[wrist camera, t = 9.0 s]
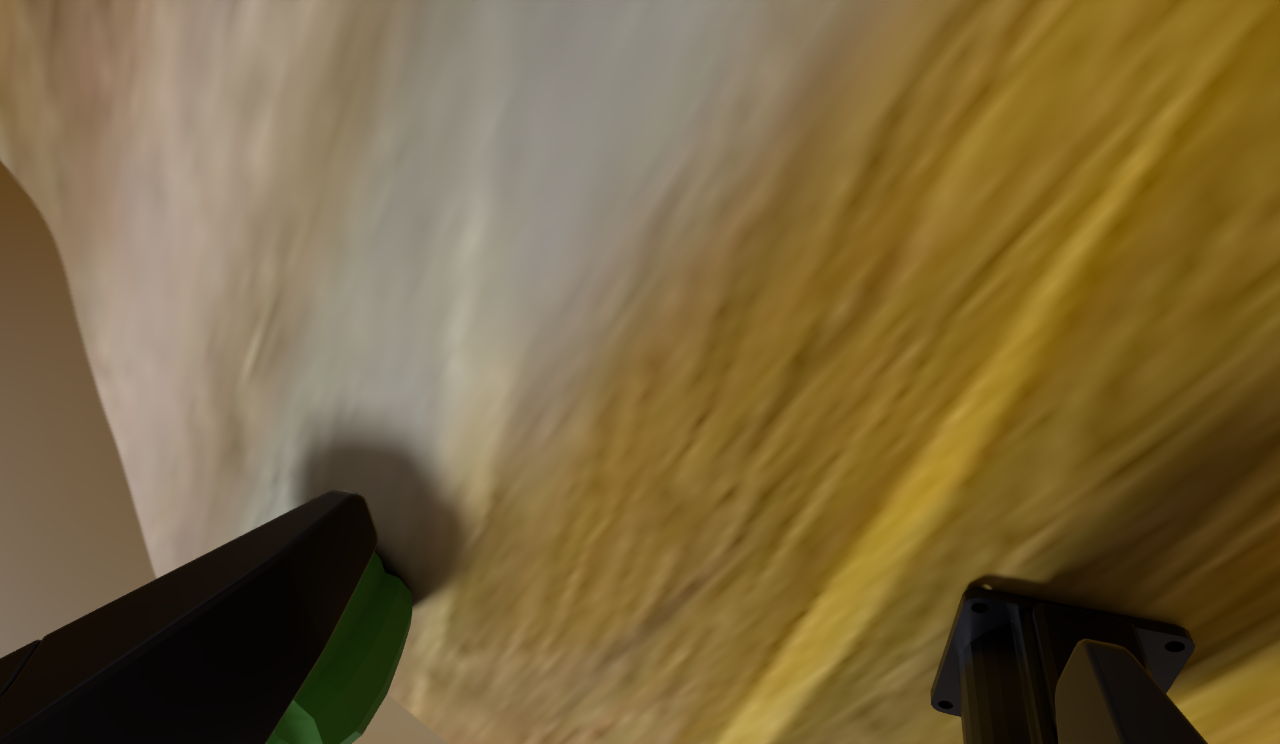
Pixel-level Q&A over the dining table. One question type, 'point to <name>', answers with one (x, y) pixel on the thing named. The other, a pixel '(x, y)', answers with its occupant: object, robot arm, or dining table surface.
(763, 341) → the dining table surface
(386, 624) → the bell pepper
